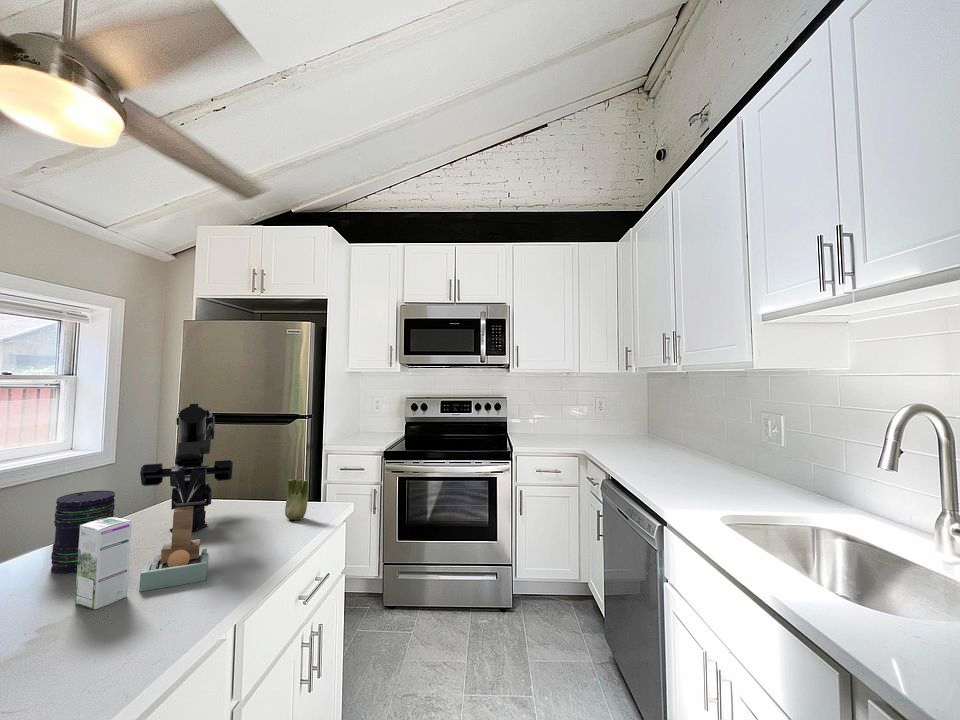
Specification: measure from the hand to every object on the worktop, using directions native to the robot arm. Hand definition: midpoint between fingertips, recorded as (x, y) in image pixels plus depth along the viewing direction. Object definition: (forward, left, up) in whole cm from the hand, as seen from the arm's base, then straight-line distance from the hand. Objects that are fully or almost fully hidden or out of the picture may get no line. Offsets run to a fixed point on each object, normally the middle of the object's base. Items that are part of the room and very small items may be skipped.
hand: (185, 502), depth 102 cm
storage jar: (-17, -8, -13) cm, 23 cm away
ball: (+5, -6, -12) cm, 15 cm away
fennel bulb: (+10, +31, -13) cm, 34 cm away
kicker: (+2, -2, -12) cm, 13 cm away
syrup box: (+2, -20, -13) cm, 24 cm away
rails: (+3, -3, -12) cm, 13 cm away
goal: (+8, -10, -12) cm, 18 cm away
